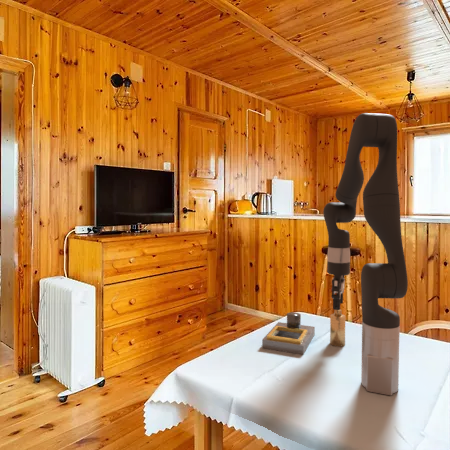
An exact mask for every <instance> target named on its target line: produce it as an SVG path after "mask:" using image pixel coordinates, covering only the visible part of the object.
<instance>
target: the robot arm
mask: <svg viewBox="0 0 450 450" xmlns="http://www.w3.org/2000/svg"><path fill="white" fill-rule="evenodd" d="M363 148H378V160H377V165H376V167H375V169H374V172H373V173H372V174H371V176H370V177H369V180H368V181H367V183H366V185H365V186H364V182H365V181H364V180H365V175H364V171H363V168H362V164H361V158H360V156H361V155H360V154H361V152H362V150H363ZM397 165H398V124H397V120H396V117H395V116H394V115H392V114H387V113H372V112H370V113H368V112H364V113H361V114H359V115H357V117H355V120H354V122H353V124H352V127H351V132H350V135H349V140H348V145H347V151H346V155H345V161H344V166H343V171H342V174H341V177H340V180H339V183H338V185H337V188H336V190H335V199H337V201H338V202H333V201H332V202H328V203H326V204H325V205H324V207H323V212H322V213H323V214H322V215H323V218H324V219H323V220H324V222H325V225H326V231H327V235H328V236H327V237H328V240H327V241H328V244H327V245H328V247H327V257H326V259H327V263H326V264H327V265H326V266H327V268H326V269H327V270H326V271H327V273H328V274H329V275H331V276H332V275H333V278H332V279H331V299H332V309H333V310H341V304H343V303H344V292H345V291H344V290H345V287H346V286H345V284H346V279H345V276H349V275H350V274H351V250H350V247H351V246H350V245H351V243H350V242H351V241H350V240H351V239H350V237H351V233H350V232H349V230H346V229H341V228H339V226H338V224H343V223H344V224H348V223H351V222H353V221H354V219H355V217H356V214H357V205H358V204H357V202H358V197H359V196H360V193H361V191H362V188H363V186H364V189H363V191H362V205H363V217H364V218H365V220H366V223H367V224H368V226H369V227H370V229H371V230H372V231H373V232H374V234H375V235H376V237H377V238H378V239H379V241H380V242H381V244H382V246H383V248H384V250H385V254H386V259H387V263H385V262H384V263H383V262H382V263H379V262H375V263H373V262H372V263H366V264H364V265H363V267H362V269H361V271H360V289H361V290H360V291H361V313H362V314H361V316H362V318H361V319H362V320H361V324H362V327H361V328H362V329H361V377H360V378H361V386H362V387H364V388H365V389H366V390H365V391H366V392H371V393H375V394H382V395H387V396H393V394H395V393H397V392H398V391H399V377H400V376H399V375H400V374H399V373H400V372H399V371H400V370H399V369H400V368H399V367H400V330H401V329H400V327H401V326H400V325H401V319H400V315H399V314H398V312H396V311H394V310H392V309H390V308H386V307H383V306H381V305H380V304H379V299H403V298H404V297H405V296H406V294H407V293H408V286H409V283H408V281H409V280H408V279H409V278H408V272H407V271H408V270H407V265H406V264H407V263H406V259H405V252H404V251H405V250H404V246H403V236H402V222H401V206H400V205H401V204H400V203H401V202H400V201H401V200H400V193H399V180H398V179H399V178H398V166H397Z"/></svg>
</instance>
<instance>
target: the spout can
mask: <svg viewBox="0 0 450 450" xmlns="http://www.w3.org/2000/svg"><path fill="white" fill-rule="evenodd" d="M333 310H334V309H333ZM342 311H343V310H342V309H340V310H334V313H331V314H330V321H329V322H330V323H329V324H330V325H329V327H330V329H329V333H330V334H329V344H330V345H331V346H332V347H345V345H346V315H345V314H342Z"/></svg>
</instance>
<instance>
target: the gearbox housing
mask: <svg viewBox="0 0 450 450" xmlns="http://www.w3.org/2000/svg"><path fill="white" fill-rule="evenodd" d="M301 323H302V322H301V313H299V312H292V311H291V312H287V313H286V322H281V321H278V322H277V323H276V324H275V325H274V326H273V327H272V328H271V329H270V330H269V331H268V332H267V334H265V336H264V337H263V338H262V341H261V342H262V343H261V347H262V349H266V350H271V351H278V352H284V353H290V354H297V355H305V352H306V351H307V349H308V347H309V346H310V344H311V342H312V340H313V338H314V337H315V327H316V326H311V325H310V326H309V325H304V324H301Z"/></svg>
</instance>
